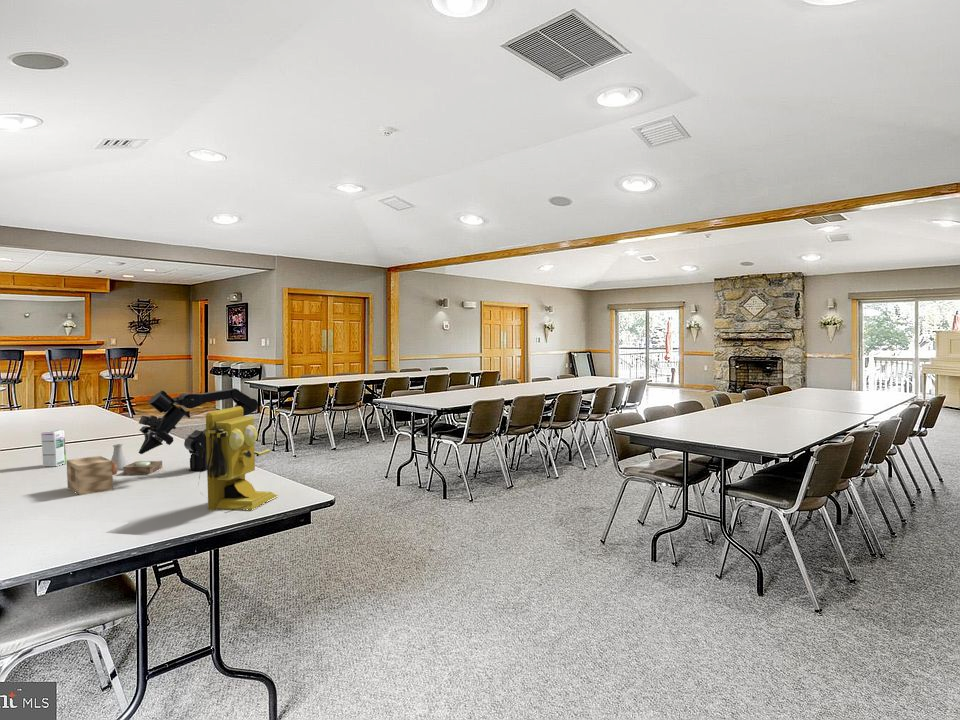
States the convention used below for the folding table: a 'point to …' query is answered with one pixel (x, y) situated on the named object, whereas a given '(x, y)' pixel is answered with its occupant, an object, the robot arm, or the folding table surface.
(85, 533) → the folding table surface
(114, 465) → the plunger
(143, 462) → the table button
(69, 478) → the wooden box
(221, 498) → the vintage telephone
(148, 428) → the robot arm
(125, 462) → the flask
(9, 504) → the folding table surface
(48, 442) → the syrup box
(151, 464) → the button housing
